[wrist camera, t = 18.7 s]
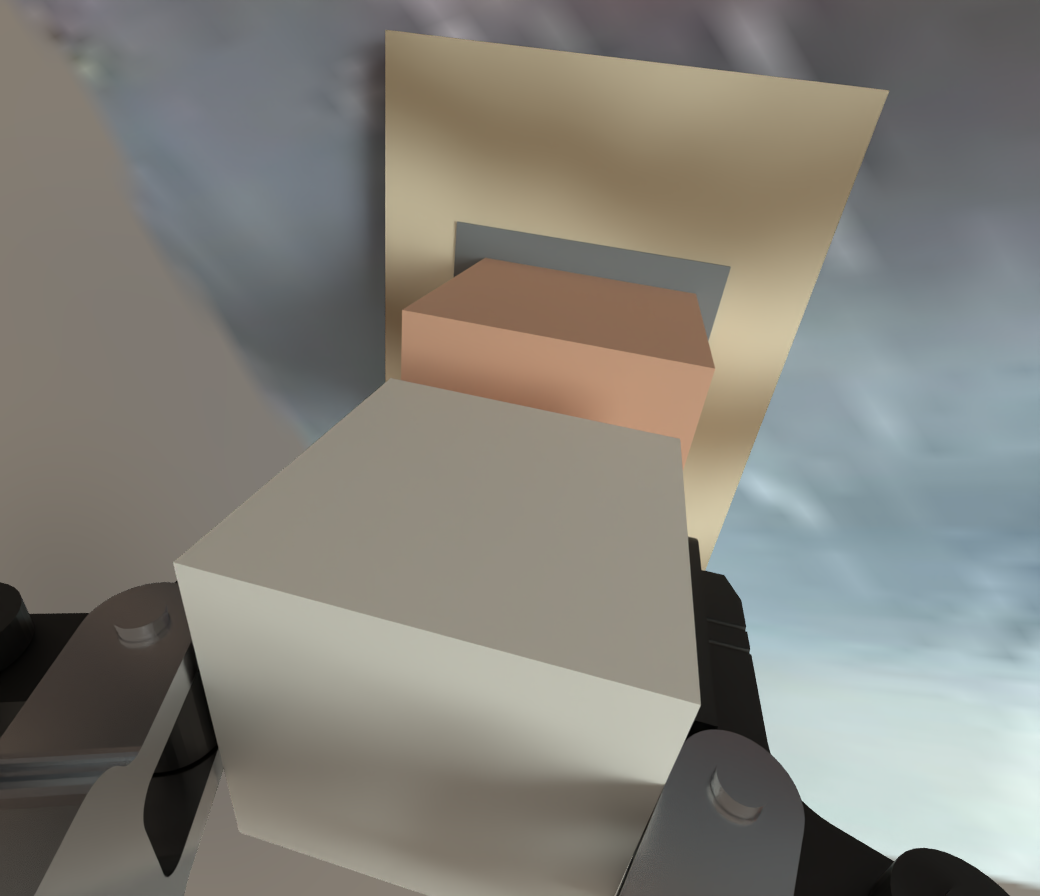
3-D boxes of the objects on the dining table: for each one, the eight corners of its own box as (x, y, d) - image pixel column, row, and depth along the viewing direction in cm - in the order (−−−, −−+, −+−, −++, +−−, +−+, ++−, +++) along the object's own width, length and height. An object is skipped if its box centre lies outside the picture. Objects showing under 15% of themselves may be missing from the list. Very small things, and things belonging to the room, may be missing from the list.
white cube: (390, 378, 10) (172, 563, 5) (680, 438, 9) (701, 704, 5) (388, 589, 12) (239, 832, 8) (615, 648, 11) (589, 949, 7)
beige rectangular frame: (408, 39, 15) (383, 29, 14) (867, 96, 14) (890, 90, 12) (400, 508, 23) (384, 531, 22) (689, 578, 22) (691, 607, 20)
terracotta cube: (485, 257, 16) (401, 309, 11) (695, 293, 15) (715, 368, 10) (469, 438, 19) (398, 547, 14) (645, 476, 18) (639, 607, 13)
